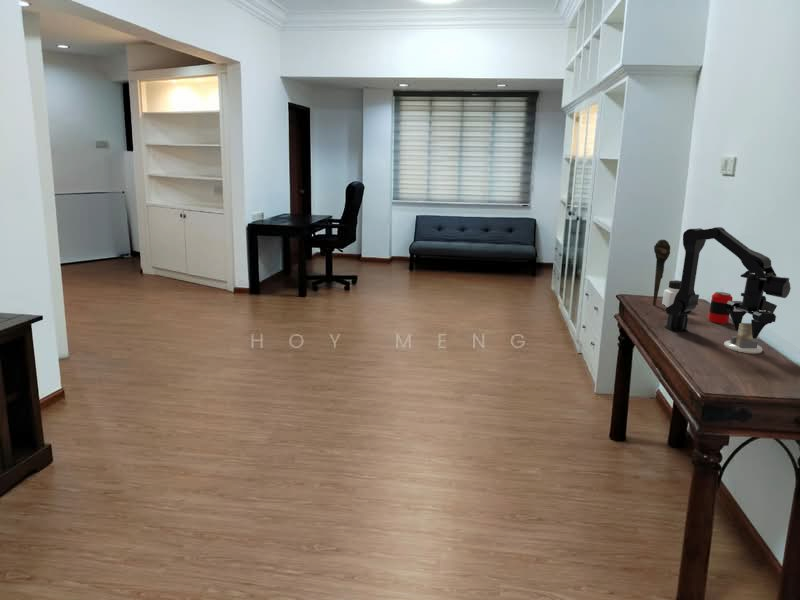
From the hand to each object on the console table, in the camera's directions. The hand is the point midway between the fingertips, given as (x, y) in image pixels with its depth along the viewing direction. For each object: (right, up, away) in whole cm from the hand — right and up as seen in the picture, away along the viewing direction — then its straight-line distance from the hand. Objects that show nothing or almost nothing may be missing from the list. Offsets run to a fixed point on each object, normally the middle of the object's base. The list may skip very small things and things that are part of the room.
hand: (745, 334), depth 214 cm
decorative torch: (-7, +10, +60) cm, 61 cm away
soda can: (+10, +3, +37) cm, 38 cm away
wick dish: (0, -5, +1) cm, 5 cm away
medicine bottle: (+1, +9, +59) cm, 60 cm away
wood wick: (0, -4, +1) cm, 4 cm away
